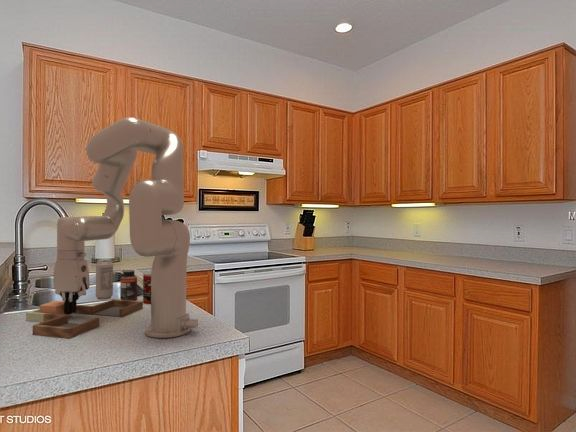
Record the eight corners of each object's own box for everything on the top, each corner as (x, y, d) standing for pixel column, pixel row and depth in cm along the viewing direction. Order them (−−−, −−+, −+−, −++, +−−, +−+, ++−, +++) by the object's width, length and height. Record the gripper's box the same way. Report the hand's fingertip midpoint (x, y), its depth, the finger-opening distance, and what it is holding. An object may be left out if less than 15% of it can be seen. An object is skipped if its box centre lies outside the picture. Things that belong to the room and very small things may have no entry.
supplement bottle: (132, 297, 145) (132, 269, 145) (140, 299, 141) (140, 270, 141) (117, 300, 140) (117, 270, 140) (125, 302, 137) (125, 272, 137)
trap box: (142, 308, 128) (142, 301, 128) (69, 338, 97) (69, 329, 97) (81, 303, 134) (81, 297, 134) (-7, 330, 103) (-7, 321, 103)
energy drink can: (110, 295, 147) (110, 258, 147) (114, 298, 143) (115, 260, 143) (93, 297, 143) (94, 259, 143) (98, 300, 139) (98, 261, 139)
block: (71, 315, 119) (71, 302, 119) (55, 321, 113) (55, 306, 113) (55, 314, 120) (55, 300, 120) (39, 319, 114) (39, 305, 114)
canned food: (139, 301, 138) (140, 272, 138) (160, 298, 144) (160, 270, 144) (147, 305, 133) (147, 275, 133) (168, 302, 138) (169, 273, 138)
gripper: (99, 255, 118) (99, 311, 118) (61, 253, 121) (60, 308, 121) (81, 257, 110) (81, 318, 111) (41, 256, 114) (40, 314, 114)
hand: (70, 313), depth 116 cm, fingers closed
